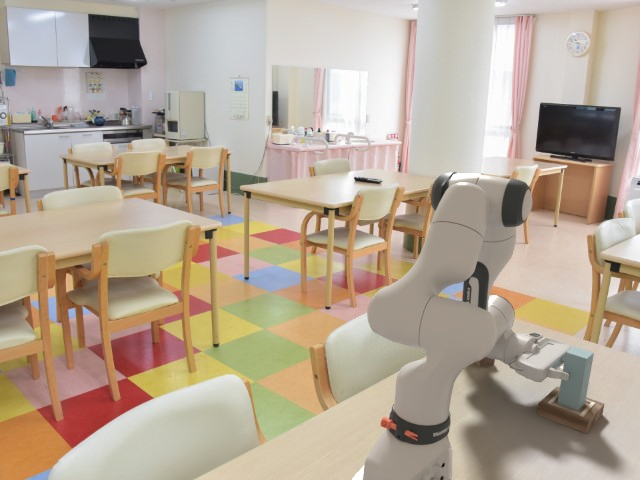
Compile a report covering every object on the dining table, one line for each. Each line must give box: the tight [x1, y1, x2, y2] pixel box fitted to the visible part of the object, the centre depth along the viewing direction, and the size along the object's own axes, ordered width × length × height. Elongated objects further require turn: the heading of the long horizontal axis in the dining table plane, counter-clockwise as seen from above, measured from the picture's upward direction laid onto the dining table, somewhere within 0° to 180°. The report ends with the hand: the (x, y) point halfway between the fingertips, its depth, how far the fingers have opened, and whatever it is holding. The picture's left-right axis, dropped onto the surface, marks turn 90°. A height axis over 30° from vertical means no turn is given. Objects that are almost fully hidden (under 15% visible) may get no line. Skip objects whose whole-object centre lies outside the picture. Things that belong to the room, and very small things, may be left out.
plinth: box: [536, 386, 605, 435], centre depth 149 cm, size 12×12×3 cm
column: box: [558, 345, 595, 411], centre depth 147 cm, size 5×5×14 cm
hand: (576, 370), depth 147 cm, fingers open, 8 cm apart
